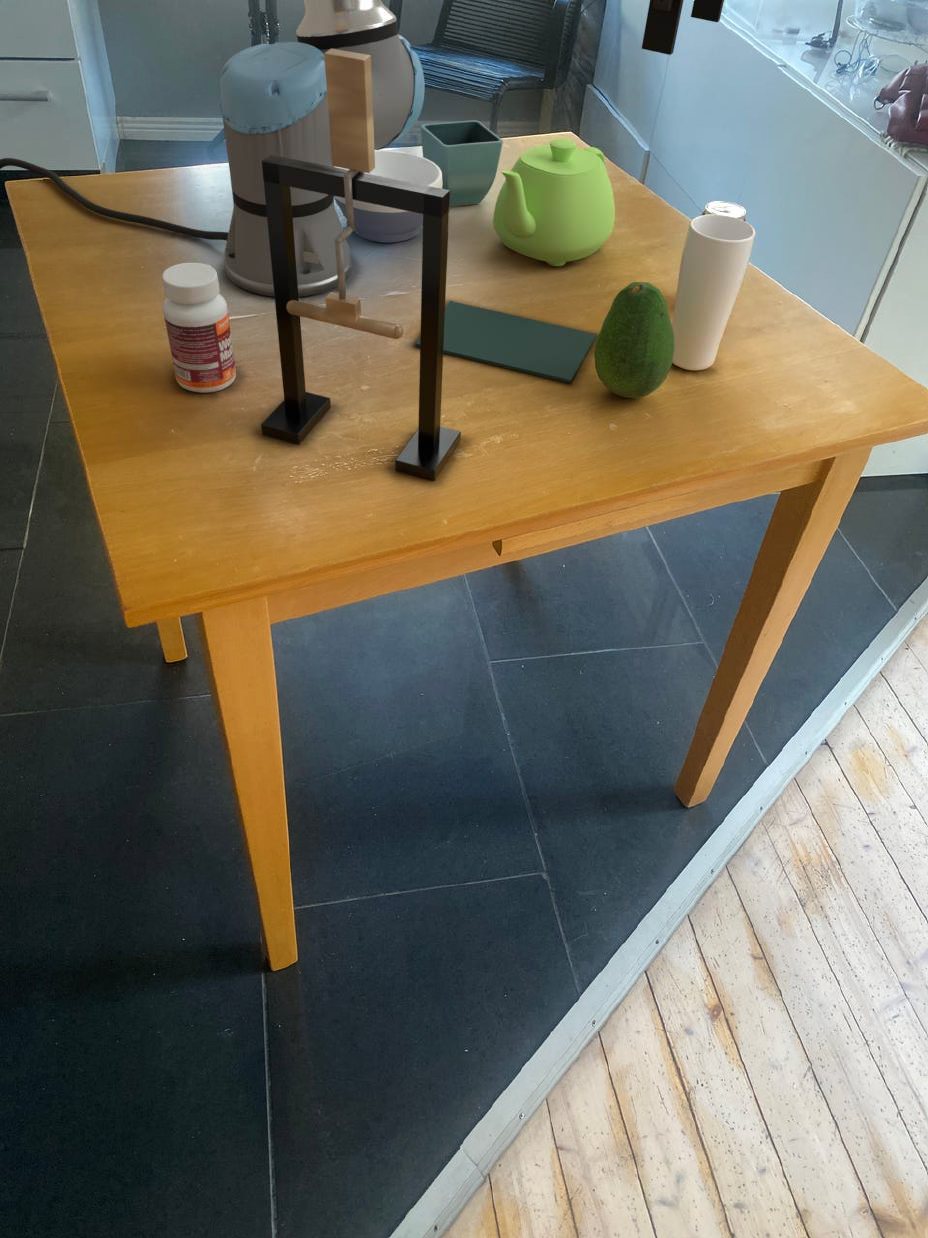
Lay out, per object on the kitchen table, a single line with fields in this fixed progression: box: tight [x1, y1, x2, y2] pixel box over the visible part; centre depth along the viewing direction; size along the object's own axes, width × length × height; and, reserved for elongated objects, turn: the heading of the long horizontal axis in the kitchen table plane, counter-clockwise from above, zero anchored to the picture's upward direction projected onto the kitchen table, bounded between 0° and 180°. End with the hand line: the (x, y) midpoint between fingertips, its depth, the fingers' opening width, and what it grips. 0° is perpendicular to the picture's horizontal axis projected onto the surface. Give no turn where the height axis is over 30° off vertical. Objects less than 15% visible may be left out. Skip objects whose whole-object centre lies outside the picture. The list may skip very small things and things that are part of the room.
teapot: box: [492, 138, 616, 267], centre depth 120 cm, size 22×15×13 cm
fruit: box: [593, 281, 675, 400], centre depth 96 cm, size 8×8×12 cm
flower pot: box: [420, 119, 504, 207], centre depth 131 cm, size 9×9×9 cm
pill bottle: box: [161, 262, 237, 394], centre depth 94 cm, size 6×6×11 cm
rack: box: [260, 155, 462, 482], centre depth 84 cm, size 18×7×25 cm, turn 70°
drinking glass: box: [671, 214, 756, 371], centre depth 101 cm, size 7×7×15 cm
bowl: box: [334, 149, 443, 244], centre depth 124 cm, size 14×14×8 cm
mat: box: [414, 300, 598, 384], centre depth 107 cm, size 18×11×1 cm, turn 70°
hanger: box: [287, 49, 404, 340], centre depth 75 cm, size 11×6×20 cm, turn 70°
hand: (682, 34), depth 88 cm, fingers open, 13 cm apart
